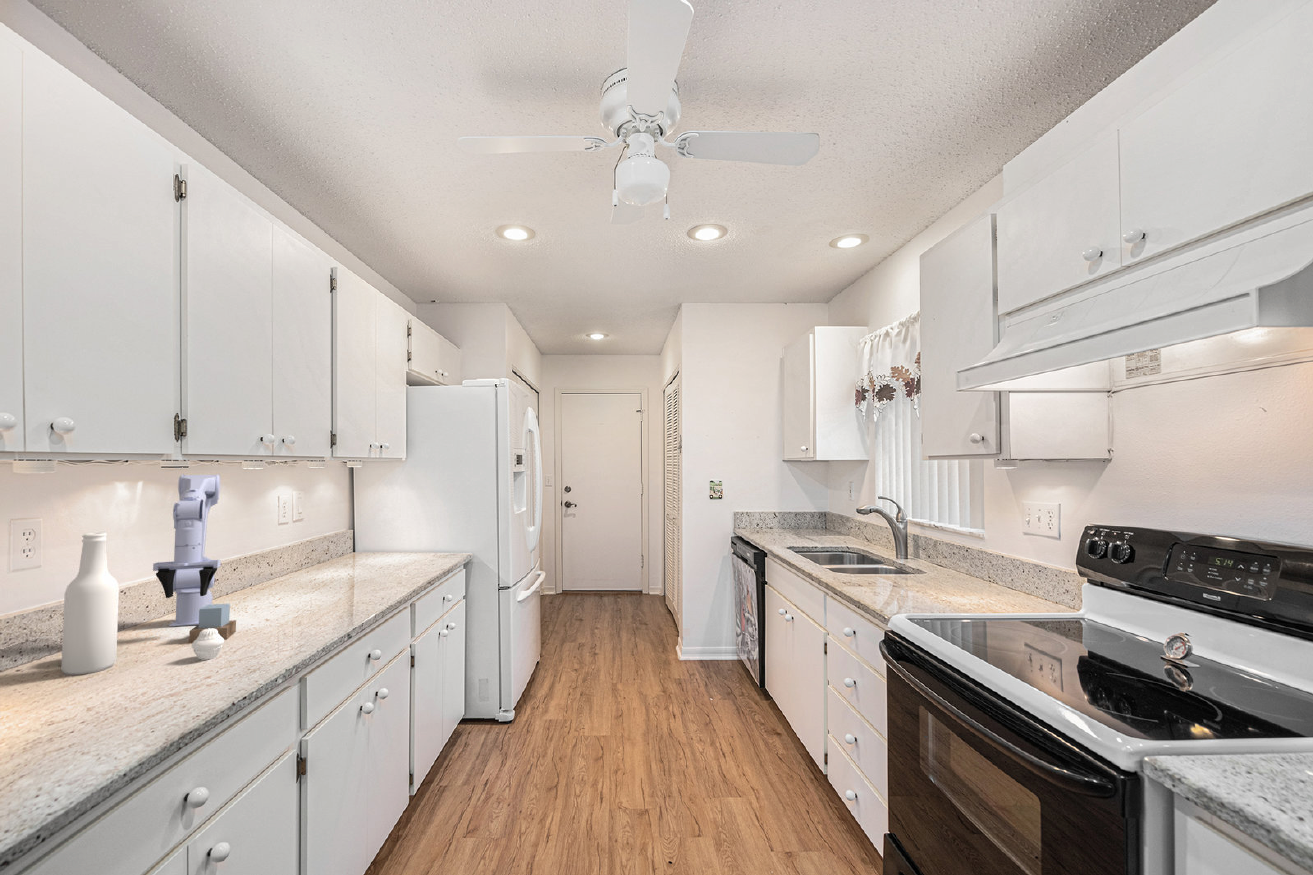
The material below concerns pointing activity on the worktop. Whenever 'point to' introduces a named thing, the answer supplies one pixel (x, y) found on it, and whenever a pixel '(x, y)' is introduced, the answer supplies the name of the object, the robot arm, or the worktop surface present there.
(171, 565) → the robot arm
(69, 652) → the white bottle
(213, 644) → the muffin
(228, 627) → the walnut base
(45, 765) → the worktop surface
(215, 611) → the blue cube
